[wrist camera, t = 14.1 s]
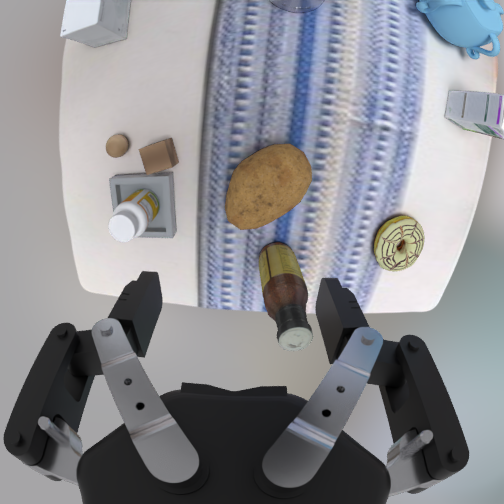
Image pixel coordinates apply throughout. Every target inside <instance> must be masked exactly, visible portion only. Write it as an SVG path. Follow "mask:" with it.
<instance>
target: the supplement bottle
mask: <svg viewBox="0 0 504 504" xmlns="http://www.w3.org/2000/svg"><path fill="white" fill-rule="evenodd" d="M159 209H160V203H159V199H158V197H157V196H156V194H155V193H154V192H152V191H150V190H148V189H139V190H137V191H135V192H134V193H132V194H131V195H130V196H129V197H128V198H126V199H125V200H124V201H123V202H121V203H120V204H119V205H118V206H117V207H116V208H115V210H114V212H113V217H112V218H111V219H110V221H109V232H110V234H111V235H112V237H113V238H114V239H116V240H117V241H119V242H128V241H130V240H131V239H132V238H136V237H138V236H140V235H141V234H142V233H143V232H144V231H145V230H146V228H147V227H148V226H149V224H150V223H151V222H152V221H153V219H154V218H155V217H156V215H157V214H158V212H159Z"/></svg>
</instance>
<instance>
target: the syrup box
mask: <svg viewBox="0 0 504 504" xmlns="http://www.w3.org/2000/svg"><path fill="white" fill-rule="evenodd" d="M445 118H447V119H448V120H450V121H451V122H453V123H454V124H456V125H458V126H459V127H461V128H462V129H464V130H468V131H473V132H477V133H481V134H485V135H489V136H493V137H497V138H500V139H504V94H496V93H486V92H471V91H449V95H448V100H447V106H446V112H445Z"/></svg>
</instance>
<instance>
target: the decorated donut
mask: <svg viewBox="0 0 504 504" xmlns="http://www.w3.org/2000/svg"><path fill="white" fill-rule="evenodd" d="M401 240H402V244H401V246H400V247H399V248H397V246H396V245H397V244H398V243H399V242H400V241H401ZM423 245H424V232H423V229H422V226H421V225H420V224H419V223H418V222H417V221H416V220H414V219H413V218H411V217H408V216H399V217H396V218H393V219H391V220H389V221H387V222H386V223H385V224H384V225H383V226H382V227H381V228H380V229H379V231H378V233H377V235H376V238H375V242H374V253H375V256H376V260H377V261H378V263H379V265H380V267H381V268H383V269H385V270H388V271H400V270H404V269H406V268H408V267H410V266H412V265H413V264H414V263H415V261H416V260H417V258H418V257H419V255H420V253H421V251H422V249H423Z"/></svg>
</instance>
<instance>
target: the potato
mask: <svg viewBox="0 0 504 504" xmlns="http://www.w3.org/2000/svg"><path fill="white" fill-rule="evenodd" d="M311 181H312V172H311V165H310V163H309V161H308V159H307V157H306V155H305V154H304V152H302V151H301V150H299V149H298V148H296V147H294V146H293V145H291V144H273V145H271V146H268V147H266V148H263V149H261V150H259V151H257V152H256V153H254V154H253V155H251V156H249V157H248V158H246V159H245V160H243V161H242V162H241V163H240V164H239V165H238V166H237V168H236V169H235V170H234V171H233V174H232V177H231V181H230V184H229V188H228V191H227V195H226V202H225V211H226V215H227V219H228V221H229V222H230V223H232V224H233V225H235V226H236V227H237V228H239V229H240V230H244V229H256V228H259V227H261V226H264V225H266V224H268V223H270V222H272V221H274V220H275V219H277V218H279V217H281V216H282V215H284V214H285V213H287V212H288V211H290V210H291V209H292V208H294V207H295V206H296V205H297V204H298V203H300V202H301V200H302V198H303V197H304V195H305V193H306V192H307V189H308V187H309V185H310V183H311Z"/></svg>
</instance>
